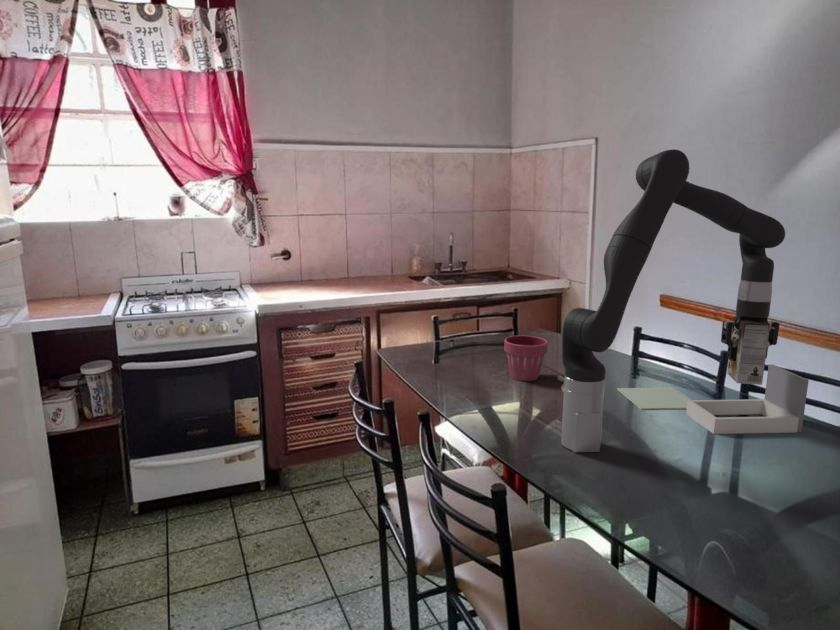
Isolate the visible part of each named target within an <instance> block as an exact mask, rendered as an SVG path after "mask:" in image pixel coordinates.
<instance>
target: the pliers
mask: <svg viewBox="0 0 840 630" xmlns="http://www.w3.org/2000/svg"><path fill="white" fill-rule="evenodd" d="M556 379H557V380H558V381H559V382H561V383H563V384H562V385H561V390H562V392H563V393H564V383H565V376H561V375H560V374H559V375H557V378H556Z"/></svg>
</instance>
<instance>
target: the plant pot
mask: <svg viewBox="0 0 840 630" xmlns="http://www.w3.org/2000/svg"><path fill="white" fill-rule="evenodd" d="M503 342H504V345H503V350H504V352H505V353H506V356H507V363H508V368H509V374H510V378H512V379H513V380H515V381H520V382H531V381H532V382H533V381H536V380H538V379H539V375H540V373H541V369H542V366H543V365H542V364H543V362H544V357H545V355H546V354H547V353H548V347H549V346H548V343H549V342H548V340H547V339H545V338H543V337H539V336H535V335H527V334H526V335H524V334H523V335H522V334H521V335H520V334H519V335H518V334H517V335H512V336H511V335H510V336H507V337H506V338H505V339H504V341H503Z"/></svg>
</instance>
